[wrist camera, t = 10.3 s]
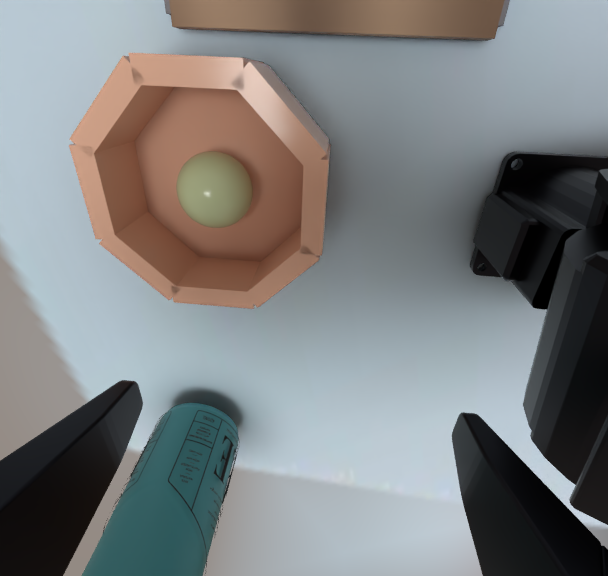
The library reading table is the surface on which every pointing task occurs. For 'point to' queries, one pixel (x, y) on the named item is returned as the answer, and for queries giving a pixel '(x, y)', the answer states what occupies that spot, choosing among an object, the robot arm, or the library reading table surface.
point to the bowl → (204, 177)
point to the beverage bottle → (171, 498)
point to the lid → (344, 17)
